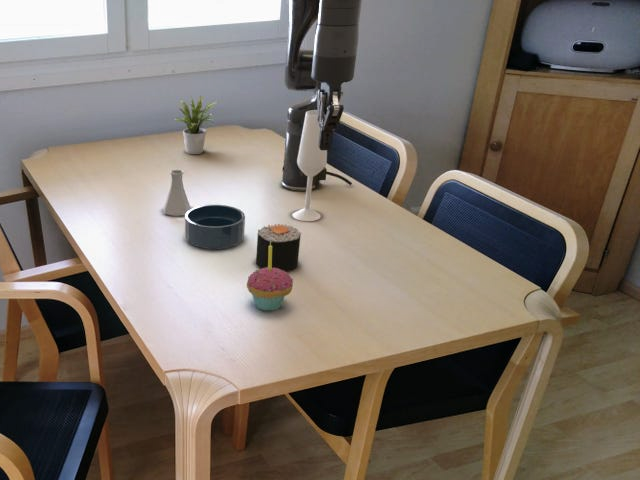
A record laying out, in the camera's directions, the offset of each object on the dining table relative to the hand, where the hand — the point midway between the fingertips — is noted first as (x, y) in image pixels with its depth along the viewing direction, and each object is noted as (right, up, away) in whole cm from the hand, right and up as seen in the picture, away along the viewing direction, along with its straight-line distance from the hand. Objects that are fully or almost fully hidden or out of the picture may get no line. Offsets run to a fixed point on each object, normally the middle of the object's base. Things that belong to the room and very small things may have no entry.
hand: (324, 149), depth 130 cm
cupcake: (-11, -30, -3) cm, 33 cm away
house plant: (-21, +22, +76) cm, 82 cm away
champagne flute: (+4, -6, +33) cm, 33 cm away
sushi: (-7, -21, +11) cm, 25 cm away
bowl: (-19, -13, +23) cm, 33 cm away
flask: (-27, -4, +37) cm, 46 cm away
